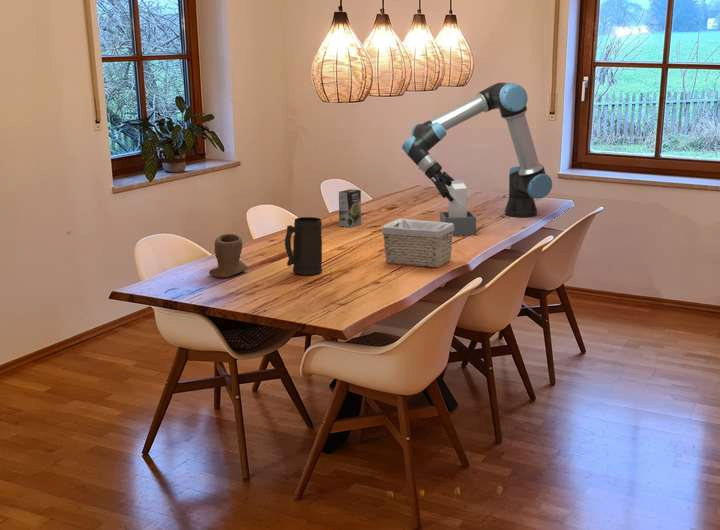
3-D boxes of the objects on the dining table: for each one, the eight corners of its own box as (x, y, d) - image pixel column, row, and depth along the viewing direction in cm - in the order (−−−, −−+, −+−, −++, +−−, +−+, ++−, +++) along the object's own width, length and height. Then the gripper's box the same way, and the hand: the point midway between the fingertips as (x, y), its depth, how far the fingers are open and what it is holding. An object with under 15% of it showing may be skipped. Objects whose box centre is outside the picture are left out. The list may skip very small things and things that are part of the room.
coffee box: (349, 228, 387) (349, 192, 383) (338, 226, 391) (337, 191, 386) (362, 224, 394) (361, 189, 390) (351, 222, 398) (350, 188, 393)
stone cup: (228, 281, 305) (226, 240, 301) (204, 277, 311) (201, 236, 307) (257, 271, 316) (254, 232, 313) (233, 267, 323) (230, 228, 319)
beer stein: (308, 266, 322) (306, 214, 317) (329, 271, 315) (327, 217, 310) (279, 275, 311) (276, 221, 306) (300, 280, 304) (298, 225, 299)
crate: (470, 228, 380) (470, 211, 378) (476, 235, 367) (476, 217, 364) (440, 229, 379) (440, 212, 377) (444, 236, 366) (444, 218, 364)
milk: (448, 229, 374) (448, 179, 369) (460, 228, 376) (460, 178, 371) (454, 232, 369) (454, 181, 363) (467, 230, 371) (467, 180, 365)
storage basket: (380, 263, 325) (380, 225, 321) (399, 254, 339) (398, 217, 335) (438, 270, 314) (438, 231, 310) (455, 260, 328) (455, 222, 324)
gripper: (433, 168, 383) (465, 203, 381) (414, 177, 362) (448, 214, 359) (445, 157, 380) (477, 192, 378) (426, 165, 358) (460, 202, 356)
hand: (463, 203), depth 369 cm, fingers open, 13 cm apart
